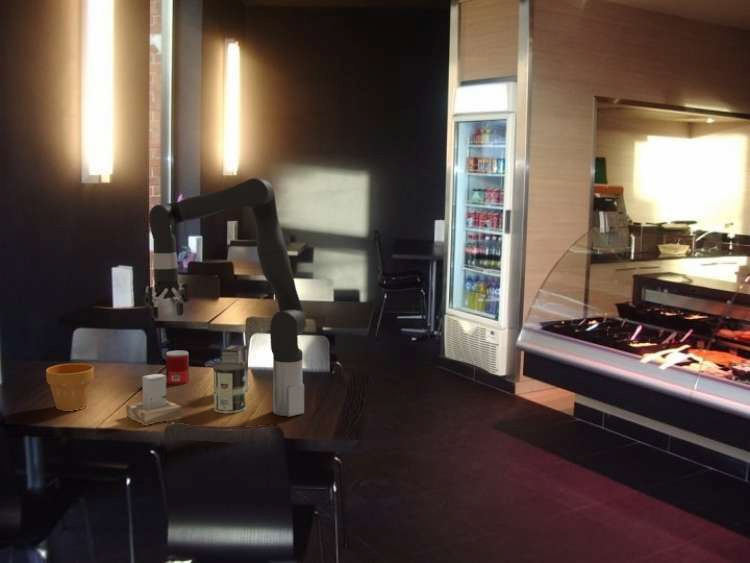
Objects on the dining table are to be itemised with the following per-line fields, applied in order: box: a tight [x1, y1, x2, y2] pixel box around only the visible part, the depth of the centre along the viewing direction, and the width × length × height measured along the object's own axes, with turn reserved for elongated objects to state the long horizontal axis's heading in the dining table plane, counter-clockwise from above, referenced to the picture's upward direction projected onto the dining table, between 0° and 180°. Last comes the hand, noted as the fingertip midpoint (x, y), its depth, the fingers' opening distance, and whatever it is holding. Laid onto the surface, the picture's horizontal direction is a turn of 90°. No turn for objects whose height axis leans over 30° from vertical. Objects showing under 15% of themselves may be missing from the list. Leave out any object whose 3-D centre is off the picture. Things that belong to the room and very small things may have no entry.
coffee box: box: [220, 344, 249, 393], centre depth 278 cm, size 9×6×16 cm
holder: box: [125, 399, 182, 424], centre depth 249 cm, size 12×12×4 cm
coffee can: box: [212, 362, 247, 414], centre depth 259 cm, size 10×10×14 cm
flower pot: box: [45, 362, 95, 410], centre depth 257 cm, size 14×14×13 cm
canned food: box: [165, 349, 190, 386], centre depth 291 cm, size 8×8×11 cm
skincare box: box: [141, 373, 167, 411], centre depth 249 cm, size 6×4×12 cm
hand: (167, 316), depth 260 cm, fingers open, 8 cm apart
